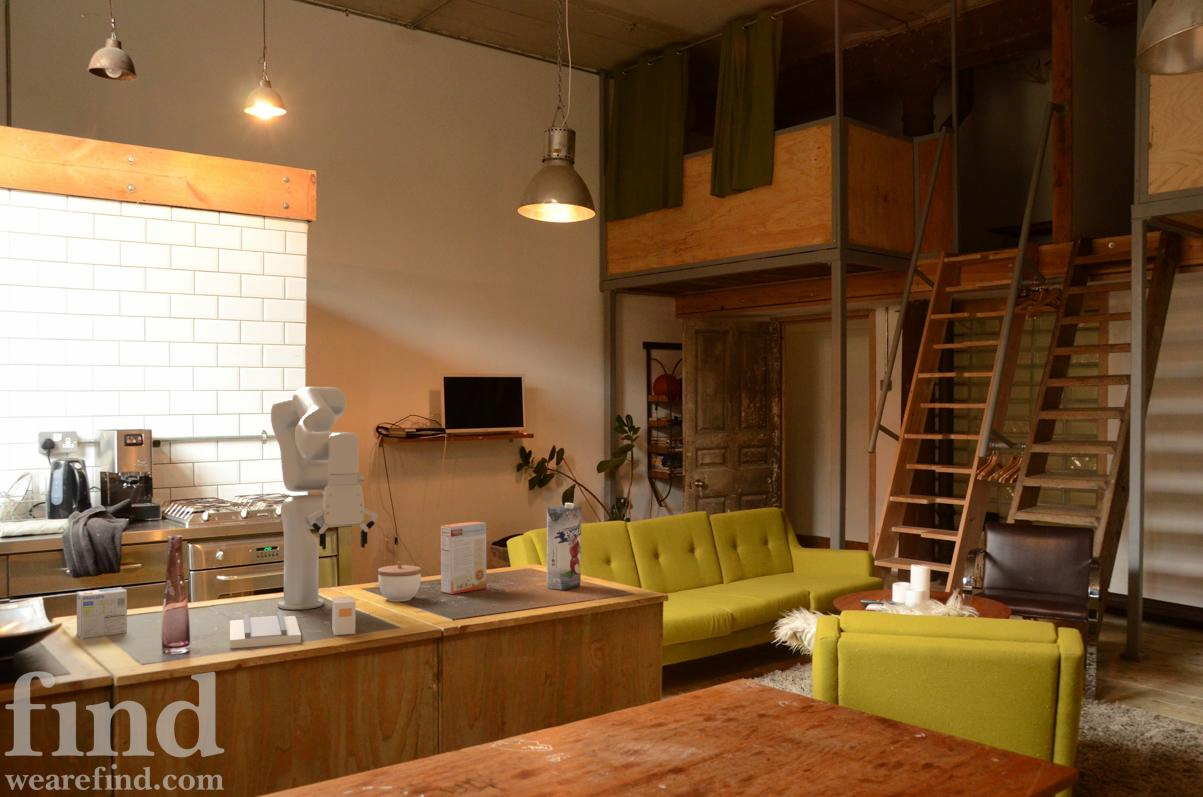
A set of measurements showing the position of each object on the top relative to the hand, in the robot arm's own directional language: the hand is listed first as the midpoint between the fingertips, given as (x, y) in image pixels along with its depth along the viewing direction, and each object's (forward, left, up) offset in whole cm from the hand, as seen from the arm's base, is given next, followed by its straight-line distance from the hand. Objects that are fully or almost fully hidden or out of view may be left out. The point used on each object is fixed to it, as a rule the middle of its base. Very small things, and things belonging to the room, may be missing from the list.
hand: (343, 548), depth 243 cm
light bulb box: (-18, -57, -21) cm, 63 cm away
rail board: (-2, -19, -21) cm, 28 cm away
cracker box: (-43, +41, -21) cm, 63 cm away
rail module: (0, 0, -21) cm, 21 cm away
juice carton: (-37, +72, -21) cm, 84 cm away
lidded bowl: (-36, +20, -21) cm, 46 cm away
